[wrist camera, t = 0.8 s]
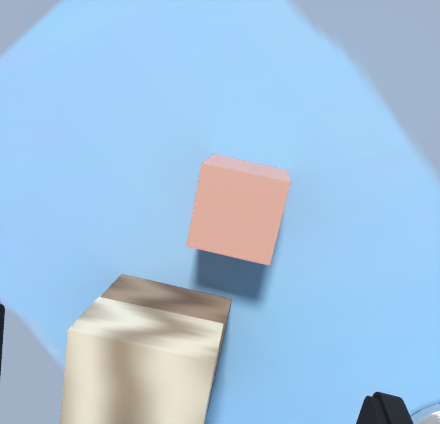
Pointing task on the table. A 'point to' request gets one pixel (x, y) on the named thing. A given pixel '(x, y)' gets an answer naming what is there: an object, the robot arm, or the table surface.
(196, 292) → the walnut base block
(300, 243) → the table surface
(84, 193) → the table surface
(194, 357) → the maple top block
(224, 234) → the terracotta cube
